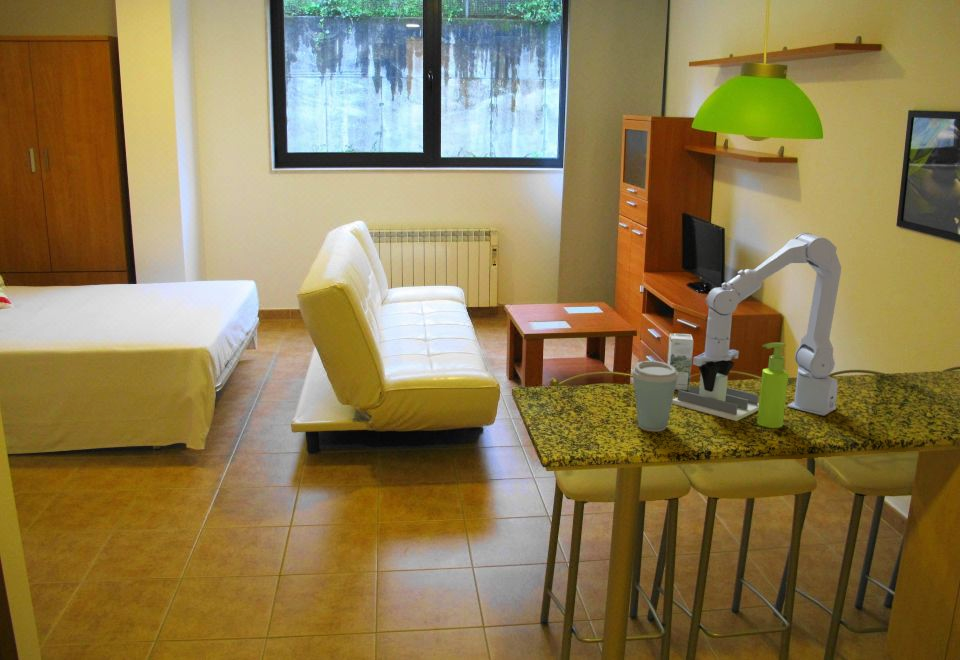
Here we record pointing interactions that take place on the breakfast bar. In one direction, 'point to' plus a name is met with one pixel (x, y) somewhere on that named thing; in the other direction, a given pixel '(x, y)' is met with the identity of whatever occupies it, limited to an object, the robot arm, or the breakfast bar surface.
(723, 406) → the dish rack
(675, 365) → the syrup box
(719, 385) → the white rectangular block
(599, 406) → the breakfast bar surface
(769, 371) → the soap dispenser
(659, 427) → the disposable coffee cup
